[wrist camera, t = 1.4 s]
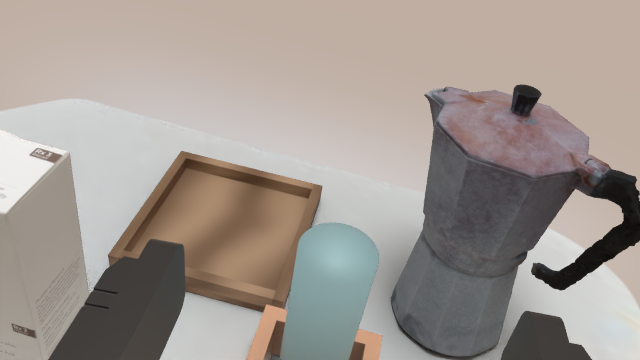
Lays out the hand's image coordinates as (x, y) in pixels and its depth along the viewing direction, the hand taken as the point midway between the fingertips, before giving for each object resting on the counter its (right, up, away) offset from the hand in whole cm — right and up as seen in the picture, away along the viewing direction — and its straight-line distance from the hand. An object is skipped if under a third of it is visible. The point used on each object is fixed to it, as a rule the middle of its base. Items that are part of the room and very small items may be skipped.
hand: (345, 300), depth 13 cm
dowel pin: (-2, -12, +24) cm, 26 cm away
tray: (-9, -2, +34) cm, 35 cm away
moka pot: (+10, -8, +31) cm, 34 cm away
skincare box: (-21, -7, +25) cm, 34 cm away
